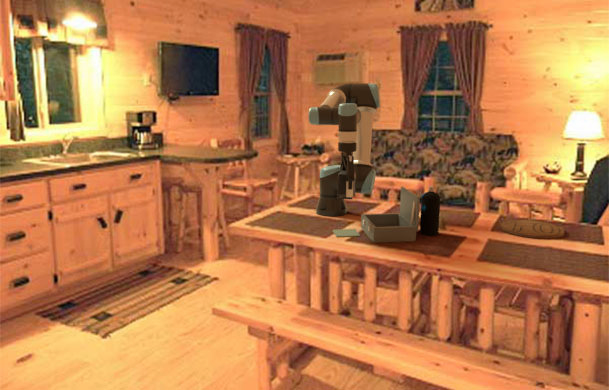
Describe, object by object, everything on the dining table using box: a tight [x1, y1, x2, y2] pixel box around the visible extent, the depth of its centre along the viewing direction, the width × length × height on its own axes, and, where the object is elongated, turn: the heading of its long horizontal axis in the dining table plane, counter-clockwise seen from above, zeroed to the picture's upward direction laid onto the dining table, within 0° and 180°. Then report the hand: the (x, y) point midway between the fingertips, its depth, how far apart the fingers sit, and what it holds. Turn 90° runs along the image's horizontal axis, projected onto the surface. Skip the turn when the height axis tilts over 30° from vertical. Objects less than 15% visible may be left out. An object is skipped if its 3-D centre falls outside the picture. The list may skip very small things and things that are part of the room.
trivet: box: [500, 219, 565, 240], centre depth 220 cm, size 25×25×2 cm
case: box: [360, 186, 421, 244], centre depth 214 cm, size 22×19×18 cm
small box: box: [337, 170, 356, 200], centre depth 213 cm, size 11×6×10 cm, turn 168°
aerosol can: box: [418, 185, 442, 237], centre depth 215 cm, size 8×8×20 cm
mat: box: [332, 228, 361, 238], centre depth 217 cm, size 10×10×1 cm
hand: (346, 194), depth 214 cm, fingers closed on small box, 11 cm apart
